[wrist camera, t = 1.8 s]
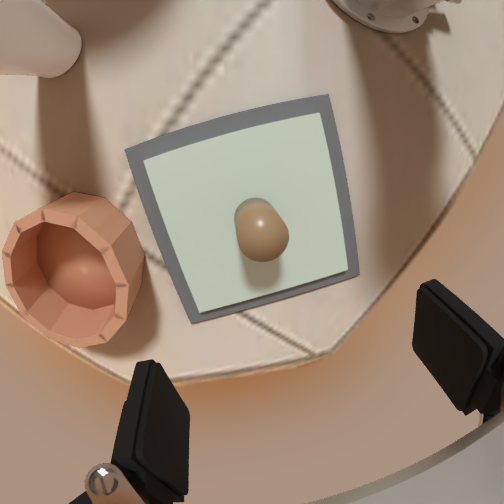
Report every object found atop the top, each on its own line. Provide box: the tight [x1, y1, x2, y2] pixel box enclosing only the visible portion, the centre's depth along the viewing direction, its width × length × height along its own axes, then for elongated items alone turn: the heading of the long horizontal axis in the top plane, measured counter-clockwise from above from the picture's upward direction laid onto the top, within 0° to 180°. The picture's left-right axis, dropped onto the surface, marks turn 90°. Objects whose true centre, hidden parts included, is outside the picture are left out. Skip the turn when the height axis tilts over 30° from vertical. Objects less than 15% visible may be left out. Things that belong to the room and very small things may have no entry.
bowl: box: [2, 192, 145, 348], centre depth 24 cm, size 13×13×6 cm
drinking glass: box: [0, 0, 82, 78], centre depth 12 cm, size 7×7×15 cm
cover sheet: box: [144, 113, 348, 313], centre depth 24 cm, size 15×15×6 cm
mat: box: [125, 94, 360, 323], centre depth 27 cm, size 18×18×1 cm
